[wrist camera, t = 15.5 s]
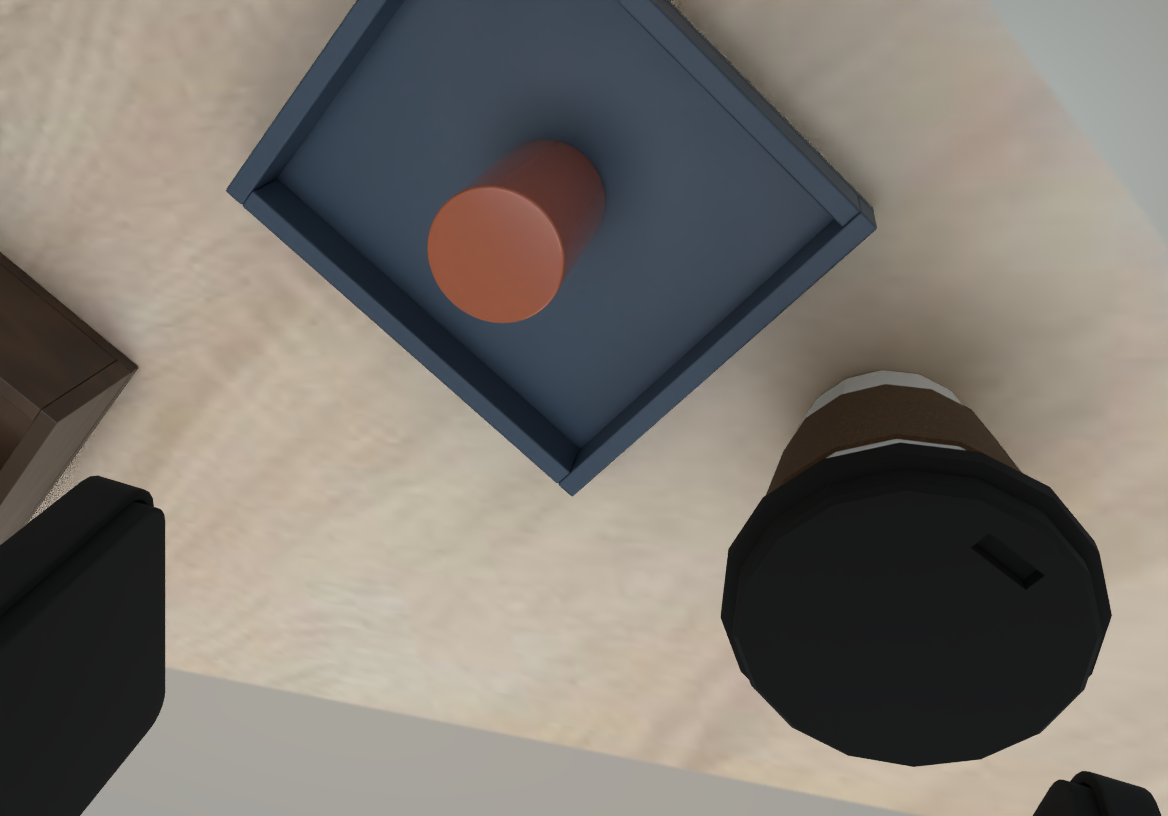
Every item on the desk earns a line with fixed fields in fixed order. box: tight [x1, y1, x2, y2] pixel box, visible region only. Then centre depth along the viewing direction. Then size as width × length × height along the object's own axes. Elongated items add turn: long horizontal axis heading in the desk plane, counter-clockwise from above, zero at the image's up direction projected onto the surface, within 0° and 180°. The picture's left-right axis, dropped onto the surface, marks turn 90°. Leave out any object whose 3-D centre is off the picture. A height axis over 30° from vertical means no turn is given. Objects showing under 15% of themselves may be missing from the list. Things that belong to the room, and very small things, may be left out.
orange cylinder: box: [427, 139, 606, 323], centre depth 34 cm, size 4×4×7 cm
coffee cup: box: [721, 370, 1112, 767], centre depth 34 cm, size 11×11×12 cm
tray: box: [226, 0, 877, 496], centre depth 36 cm, size 18×16×2 cm
